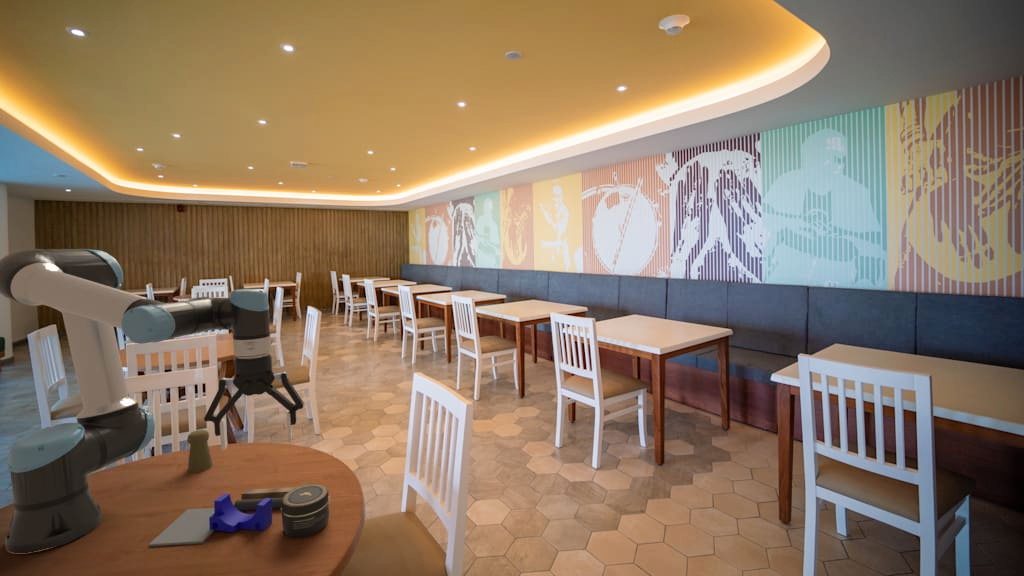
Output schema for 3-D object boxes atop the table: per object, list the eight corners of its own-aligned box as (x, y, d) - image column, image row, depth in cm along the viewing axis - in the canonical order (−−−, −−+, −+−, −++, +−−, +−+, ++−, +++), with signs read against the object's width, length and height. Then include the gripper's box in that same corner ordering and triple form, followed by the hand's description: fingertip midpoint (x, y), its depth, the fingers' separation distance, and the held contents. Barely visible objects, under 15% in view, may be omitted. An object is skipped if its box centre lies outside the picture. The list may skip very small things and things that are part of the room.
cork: (216, 466, 131) (214, 430, 130) (193, 474, 126) (190, 437, 125) (206, 460, 134) (204, 425, 133) (183, 469, 129) (181, 432, 128)
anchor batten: (241, 503, 111) (241, 493, 111) (245, 499, 113) (245, 489, 113) (299, 500, 112) (298, 490, 112) (302, 496, 114) (301, 486, 114)
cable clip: (209, 529, 100) (209, 504, 99) (224, 517, 104) (224, 493, 104) (259, 535, 99) (258, 509, 98) (272, 522, 103) (271, 498, 103)
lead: (235, 513, 108) (232, 506, 107) (239, 504, 110) (237, 497, 109) (294, 509, 109) (292, 503, 108) (297, 501, 112) (296, 494, 110)
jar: (285, 518, 105) (283, 487, 104) (330, 509, 108) (329, 479, 108) (279, 544, 95) (277, 511, 95) (329, 534, 99) (328, 501, 98)
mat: (149, 546, 95) (148, 544, 95) (187, 511, 108) (187, 509, 108) (202, 543, 96) (202, 541, 96) (235, 508, 109) (234, 506, 109)
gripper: (183, 364, 95) (190, 459, 97) (311, 353, 105) (315, 439, 106) (193, 356, 102) (199, 445, 103) (311, 347, 111) (315, 428, 113)
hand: (258, 442), depth 105 cm, fingers open, 13 cm apart
